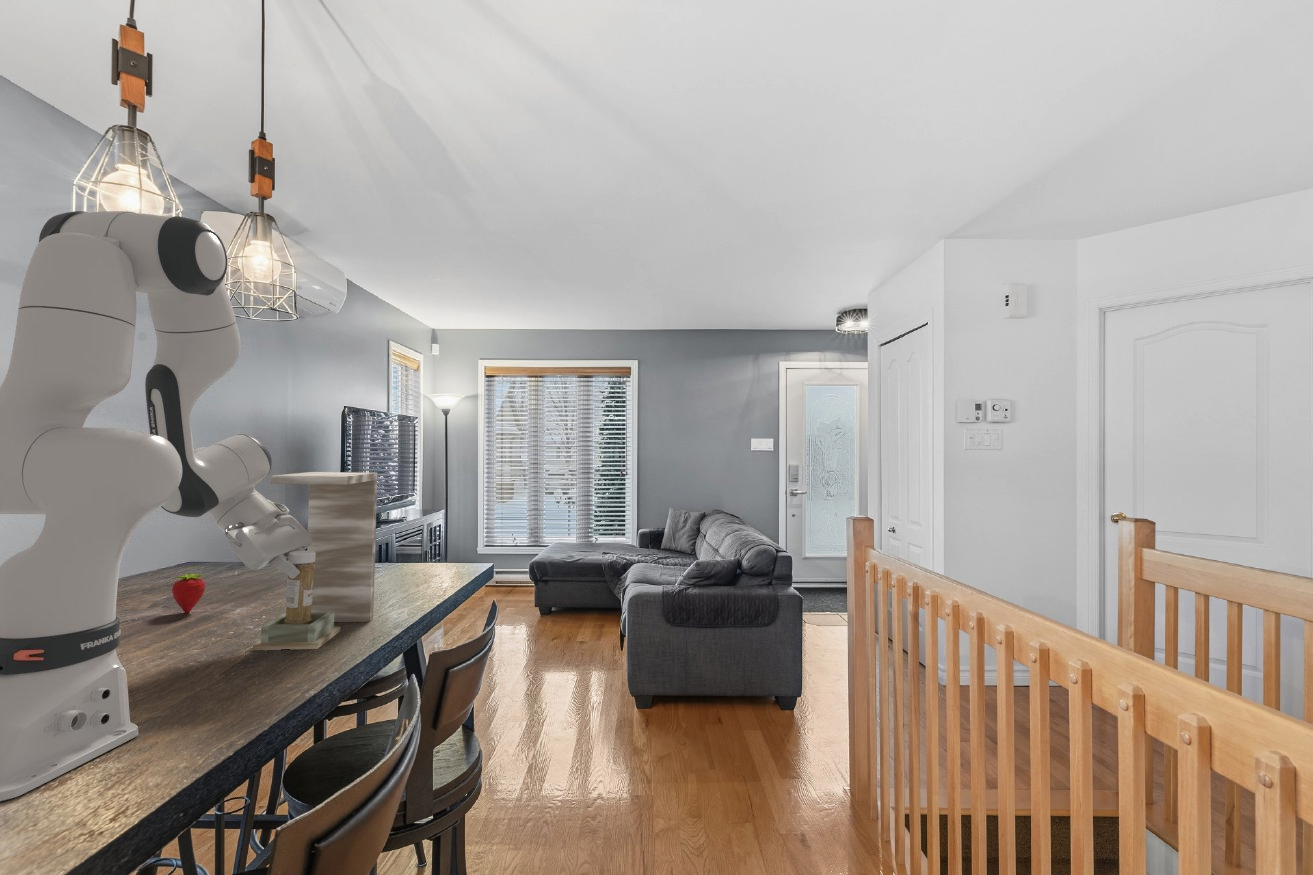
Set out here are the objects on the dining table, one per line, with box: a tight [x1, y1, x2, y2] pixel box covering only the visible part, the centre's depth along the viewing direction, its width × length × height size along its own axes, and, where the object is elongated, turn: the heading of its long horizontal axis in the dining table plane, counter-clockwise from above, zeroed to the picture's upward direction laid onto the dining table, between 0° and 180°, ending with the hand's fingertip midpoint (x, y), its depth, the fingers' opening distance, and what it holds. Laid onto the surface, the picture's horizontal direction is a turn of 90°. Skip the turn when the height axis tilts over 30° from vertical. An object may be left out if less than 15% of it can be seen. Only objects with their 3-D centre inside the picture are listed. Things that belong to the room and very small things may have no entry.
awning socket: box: [252, 471, 378, 651], centre depth 123 cm, size 20×14×32 cm
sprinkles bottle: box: [285, 550, 316, 624], centre depth 118 cm, size 5×5×14 cm
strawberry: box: [171, 566, 207, 614], centre depth 136 cm, size 6×8×10 cm
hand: (304, 572), depth 119 cm, fingers closed on sprinkles bottle, 4 cm apart
